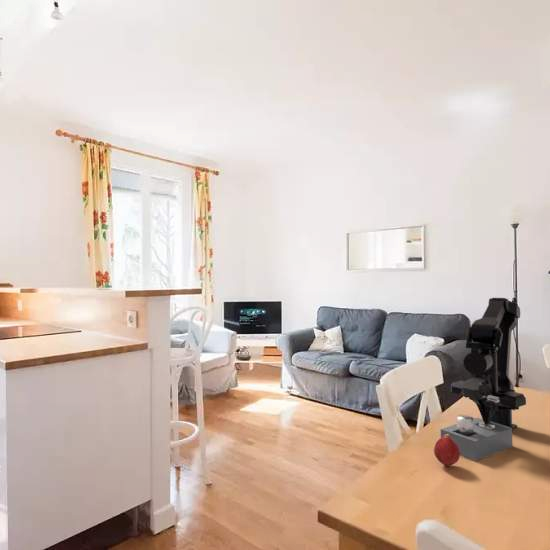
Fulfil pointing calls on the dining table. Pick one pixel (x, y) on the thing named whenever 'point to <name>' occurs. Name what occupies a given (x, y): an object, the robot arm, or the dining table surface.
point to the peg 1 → (465, 425)
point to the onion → (446, 451)
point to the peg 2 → (487, 425)
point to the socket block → (480, 440)
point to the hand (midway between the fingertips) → (486, 423)
